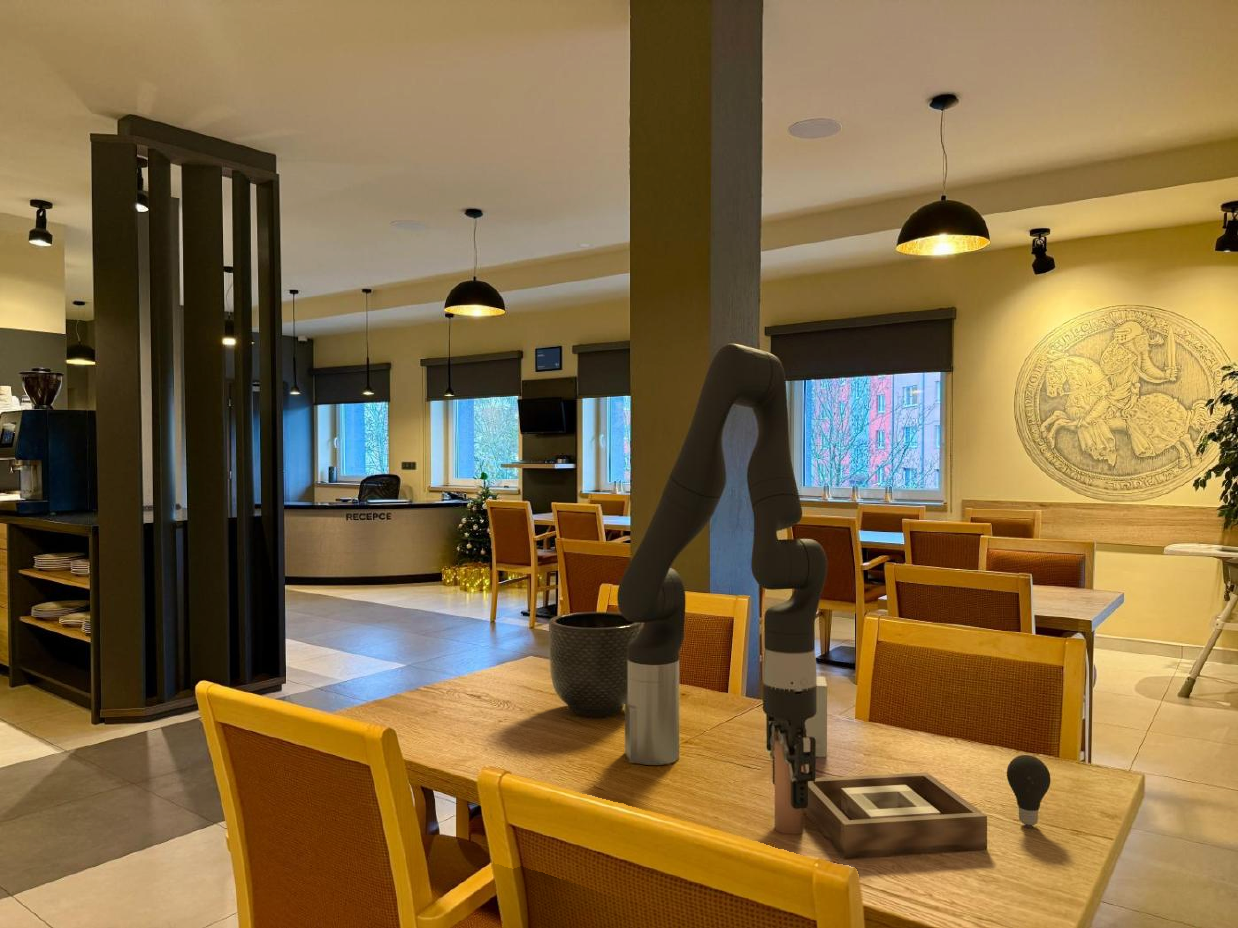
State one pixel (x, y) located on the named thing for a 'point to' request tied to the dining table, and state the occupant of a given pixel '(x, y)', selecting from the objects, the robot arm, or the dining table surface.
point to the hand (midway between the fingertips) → (789, 796)
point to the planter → (591, 661)
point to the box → (894, 816)
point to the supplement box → (819, 719)
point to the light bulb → (1028, 786)
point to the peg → (785, 797)
